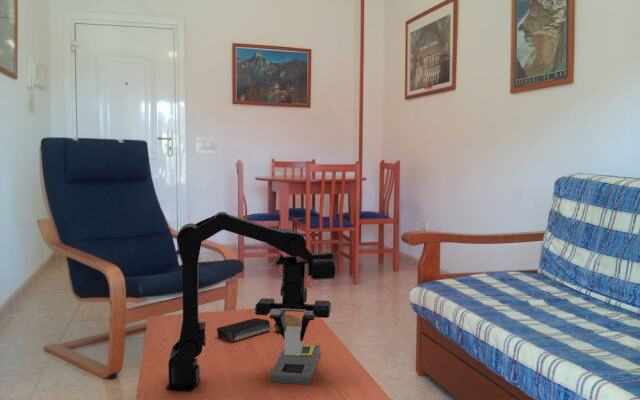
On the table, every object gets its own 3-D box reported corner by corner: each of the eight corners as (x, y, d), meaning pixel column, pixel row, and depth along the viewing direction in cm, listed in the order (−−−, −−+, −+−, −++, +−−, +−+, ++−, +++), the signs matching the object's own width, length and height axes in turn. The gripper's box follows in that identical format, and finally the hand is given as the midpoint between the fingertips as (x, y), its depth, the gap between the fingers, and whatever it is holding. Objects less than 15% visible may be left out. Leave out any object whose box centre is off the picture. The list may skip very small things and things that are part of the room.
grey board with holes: (270, 382, 129) (270, 373, 129) (285, 350, 150) (285, 342, 150) (310, 384, 128) (310, 375, 128) (320, 352, 149) (320, 344, 149)
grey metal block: (284, 354, 131) (284, 331, 130) (287, 348, 135) (287, 326, 134) (300, 355, 130) (300, 332, 130) (302, 349, 134) (302, 327, 134)
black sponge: (230, 345, 155) (230, 333, 154) (214, 338, 161) (214, 326, 160) (272, 332, 166) (272, 321, 166) (256, 326, 172) (256, 315, 172)
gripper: (333, 274, 138) (333, 331, 139) (264, 272, 140) (264, 328, 141) (328, 285, 127) (328, 346, 128) (254, 282, 129) (254, 343, 130)
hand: (293, 340), depth 132 cm, fingers closed on grey metal block, 4 cm apart
